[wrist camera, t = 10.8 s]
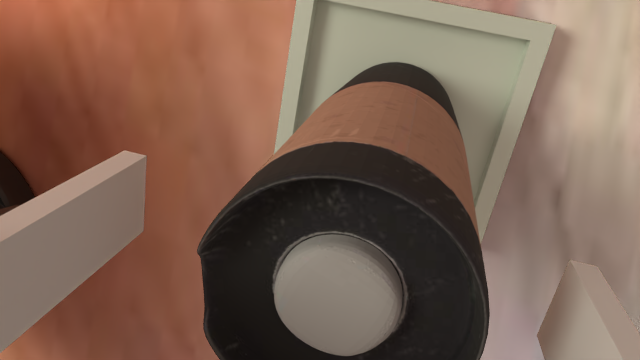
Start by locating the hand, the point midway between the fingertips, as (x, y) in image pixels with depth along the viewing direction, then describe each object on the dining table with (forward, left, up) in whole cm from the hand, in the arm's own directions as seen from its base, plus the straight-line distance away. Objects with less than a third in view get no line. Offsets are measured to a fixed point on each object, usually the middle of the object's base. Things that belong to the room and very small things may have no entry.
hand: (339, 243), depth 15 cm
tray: (0, 0, -17) cm, 17 cm away
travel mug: (0, 0, -17) cm, 17 cm away
